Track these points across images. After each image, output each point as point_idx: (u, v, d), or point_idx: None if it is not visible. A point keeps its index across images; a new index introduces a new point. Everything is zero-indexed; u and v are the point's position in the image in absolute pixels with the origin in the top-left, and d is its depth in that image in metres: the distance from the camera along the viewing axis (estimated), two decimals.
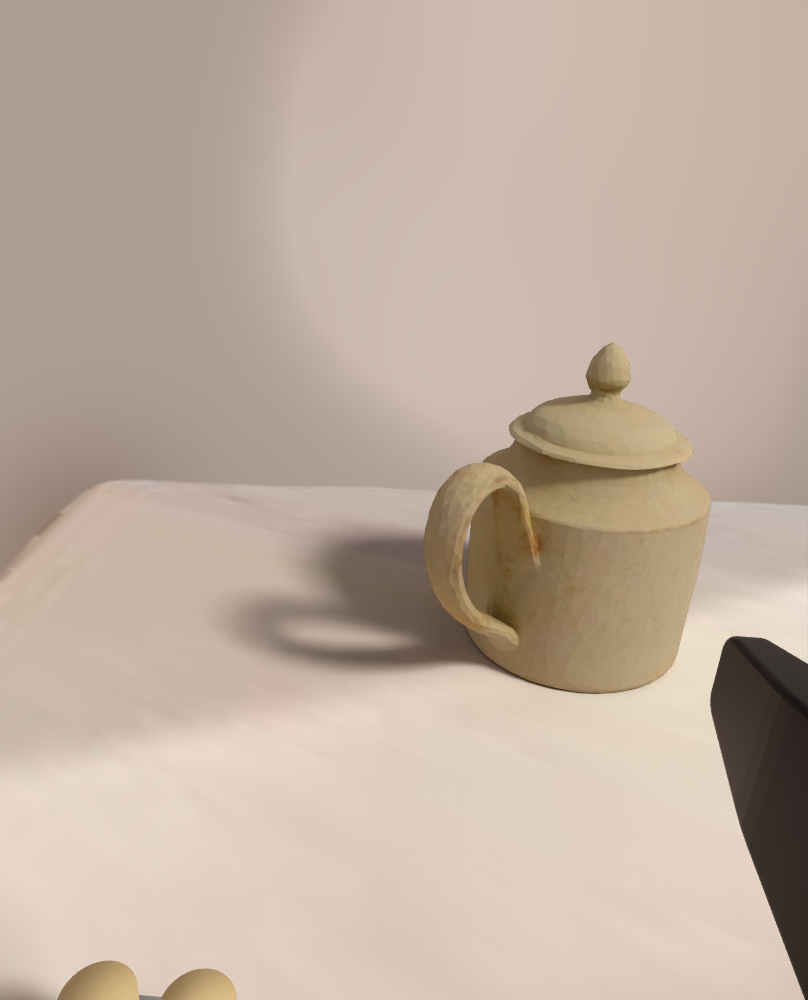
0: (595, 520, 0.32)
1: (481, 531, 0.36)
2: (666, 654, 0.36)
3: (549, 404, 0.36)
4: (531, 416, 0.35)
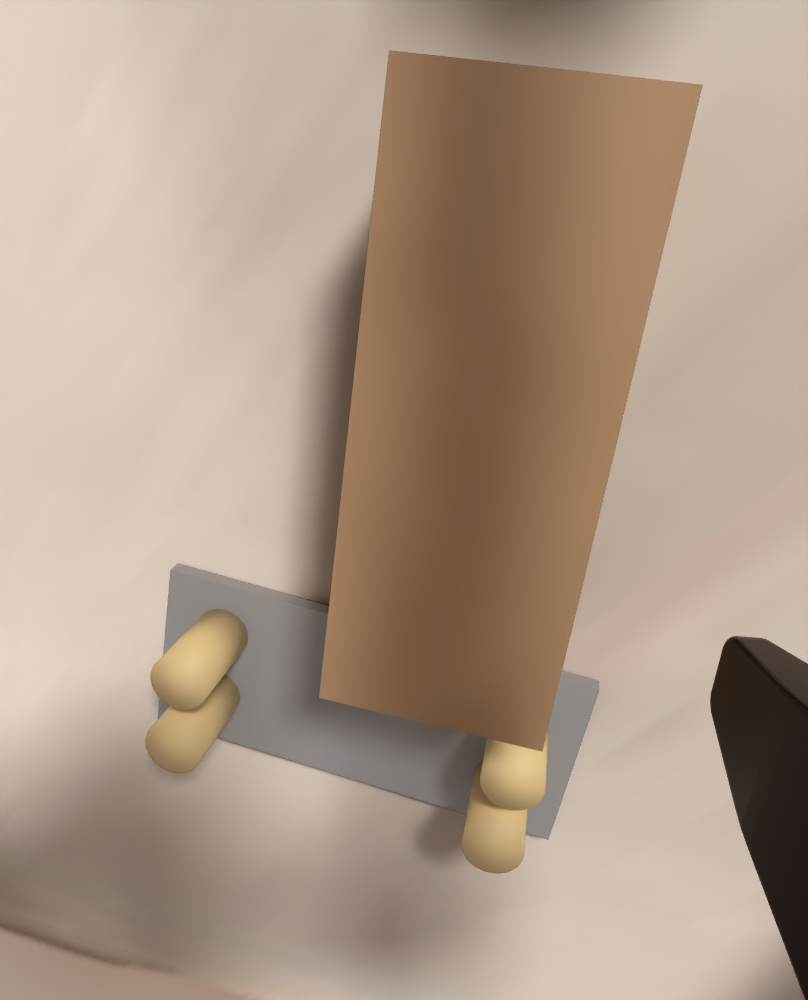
0: None
1: None
2: None
3: None
4: None
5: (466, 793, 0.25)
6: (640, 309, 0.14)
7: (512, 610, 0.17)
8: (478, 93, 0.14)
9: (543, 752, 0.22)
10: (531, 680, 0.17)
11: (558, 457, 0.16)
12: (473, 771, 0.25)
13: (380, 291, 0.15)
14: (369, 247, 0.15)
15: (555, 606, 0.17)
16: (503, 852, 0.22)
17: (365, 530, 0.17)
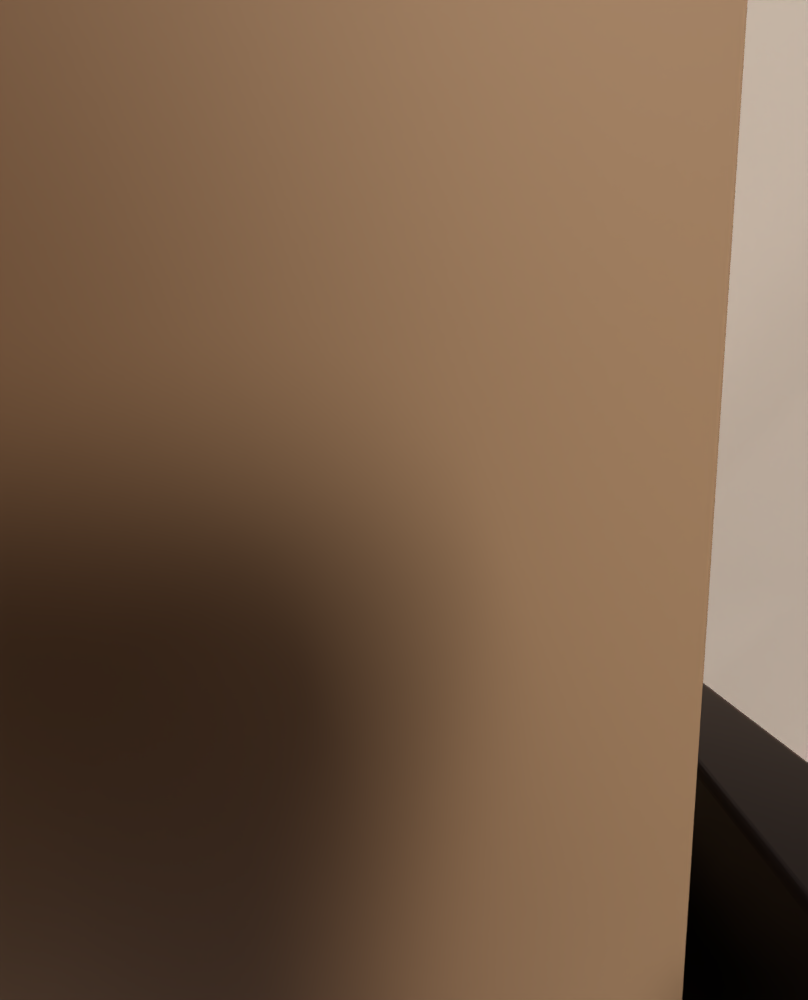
0: None
1: None
2: None
3: None
4: None
5: None
6: (680, 567, 0.04)
7: None
8: None
9: None
10: None
11: (519, 992, 0.05)
12: None
13: None
14: None
15: None
16: None
17: None
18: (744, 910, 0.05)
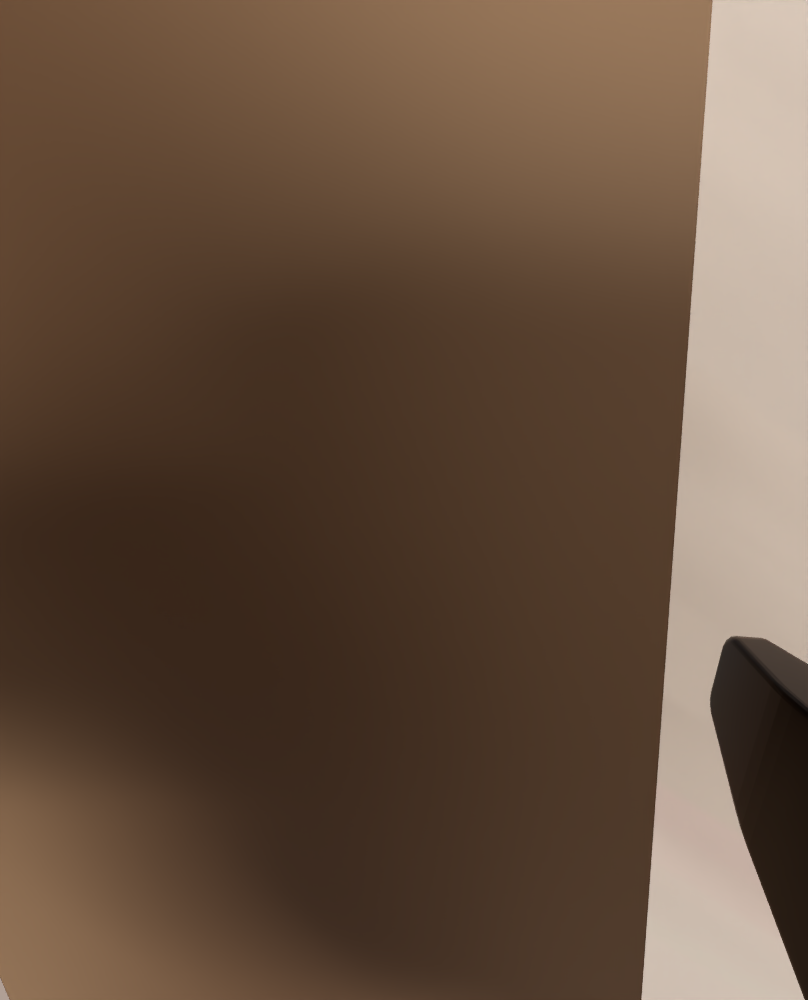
0: None
1: None
2: None
3: None
4: None
5: None
6: (652, 501, 0.05)
7: None
8: None
9: None
10: None
11: (510, 877, 0.06)
12: None
13: None
14: None
15: None
16: None
17: None
18: None
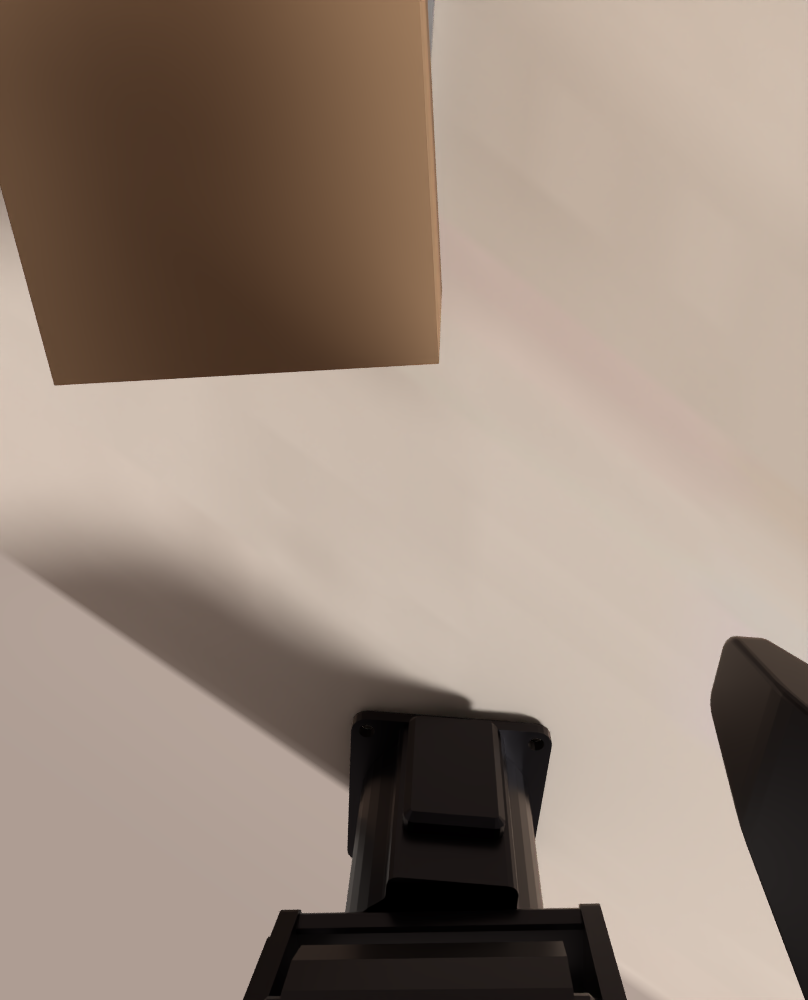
0: None
1: None
2: None
3: None
4: None
5: None
6: None
7: (312, 85, 0.09)
8: None
9: None
10: (384, 226, 0.10)
11: None
12: None
13: None
14: None
15: (384, 47, 0.09)
16: None
17: None
18: None
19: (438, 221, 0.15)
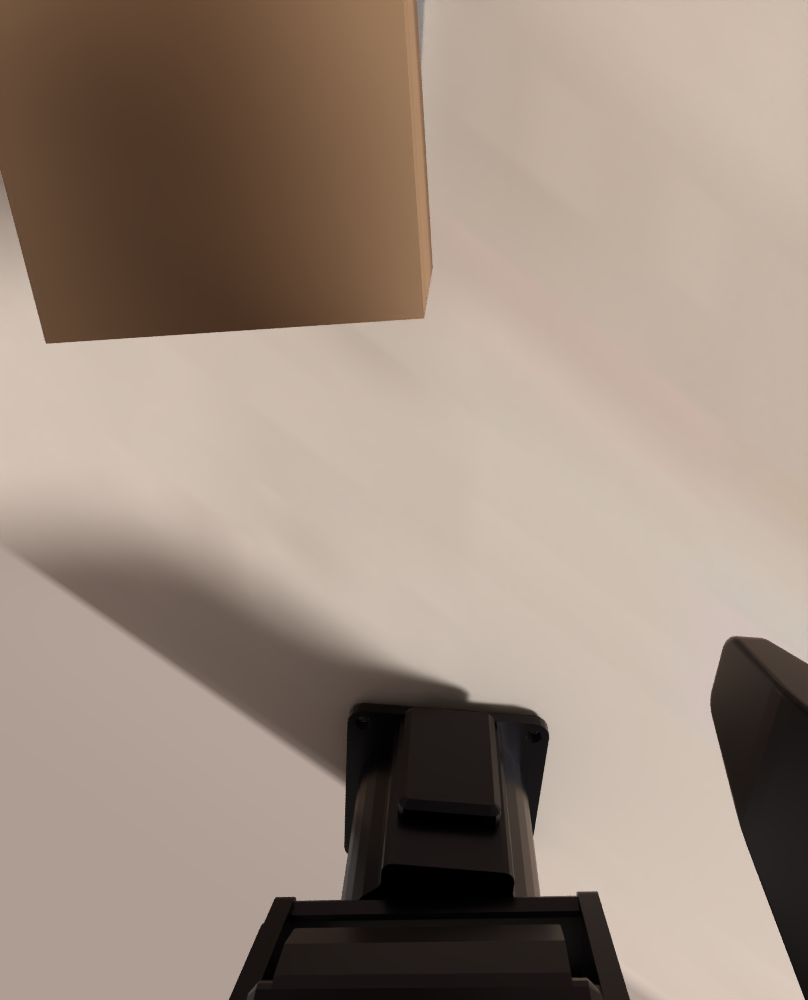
0: None
1: None
2: None
3: None
4: None
5: None
6: None
7: (297, 38, 0.09)
8: None
9: None
10: (368, 180, 0.10)
11: None
12: None
13: None
14: None
15: (366, 2, 0.09)
16: None
17: None
18: None
19: (428, 200, 0.16)
